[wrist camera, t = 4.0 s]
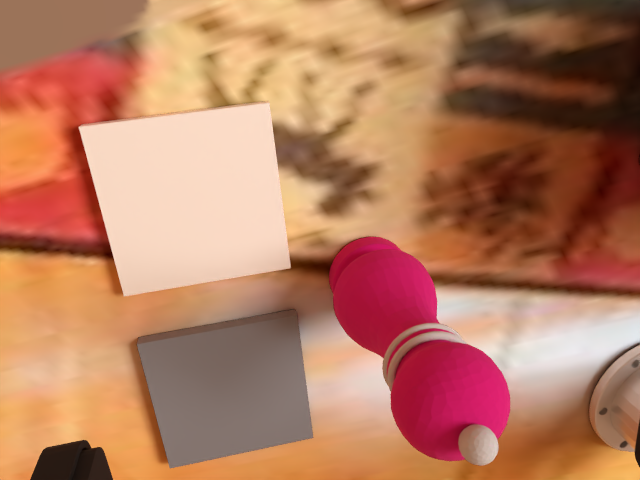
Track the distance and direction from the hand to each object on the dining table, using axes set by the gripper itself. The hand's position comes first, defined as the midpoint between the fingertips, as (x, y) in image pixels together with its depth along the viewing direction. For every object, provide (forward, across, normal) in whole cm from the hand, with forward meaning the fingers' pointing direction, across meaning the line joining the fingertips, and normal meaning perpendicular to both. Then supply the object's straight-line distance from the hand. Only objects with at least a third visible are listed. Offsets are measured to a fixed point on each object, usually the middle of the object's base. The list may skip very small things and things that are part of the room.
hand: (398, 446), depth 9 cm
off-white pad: (+30, +5, +4) cm, 31 cm away
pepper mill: (+31, -7, +12) cm, 34 cm away
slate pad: (+30, +5, +20) cm, 37 cm away
